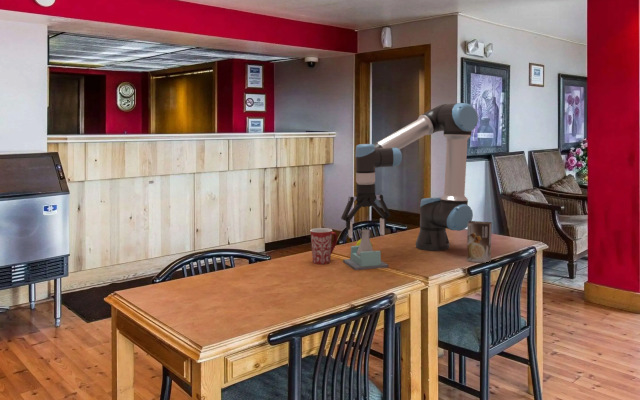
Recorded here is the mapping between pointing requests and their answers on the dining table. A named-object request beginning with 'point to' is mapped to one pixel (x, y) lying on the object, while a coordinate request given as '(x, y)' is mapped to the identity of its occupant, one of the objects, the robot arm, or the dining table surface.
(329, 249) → the mug
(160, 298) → the dining table surface
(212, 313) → the dining table surface
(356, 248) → the display stand
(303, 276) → the dining table surface
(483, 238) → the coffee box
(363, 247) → the flask
